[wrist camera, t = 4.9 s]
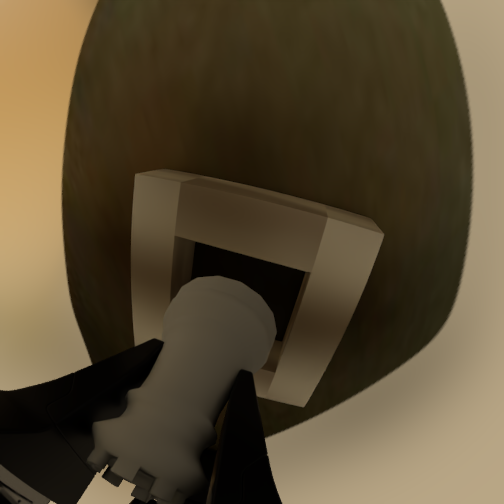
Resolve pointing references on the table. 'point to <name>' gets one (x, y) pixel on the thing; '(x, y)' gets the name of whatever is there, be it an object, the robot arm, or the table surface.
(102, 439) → the rook chess piece
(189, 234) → the socket collar
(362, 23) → the table surface
